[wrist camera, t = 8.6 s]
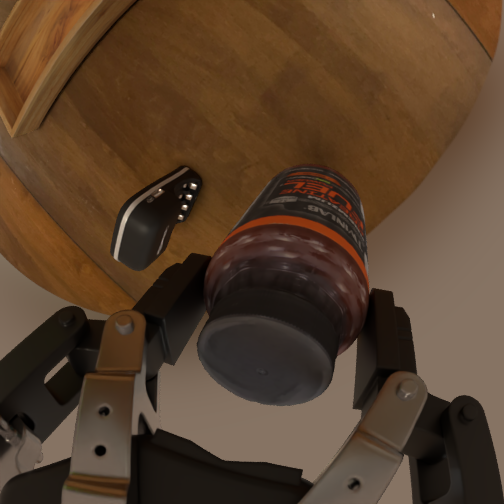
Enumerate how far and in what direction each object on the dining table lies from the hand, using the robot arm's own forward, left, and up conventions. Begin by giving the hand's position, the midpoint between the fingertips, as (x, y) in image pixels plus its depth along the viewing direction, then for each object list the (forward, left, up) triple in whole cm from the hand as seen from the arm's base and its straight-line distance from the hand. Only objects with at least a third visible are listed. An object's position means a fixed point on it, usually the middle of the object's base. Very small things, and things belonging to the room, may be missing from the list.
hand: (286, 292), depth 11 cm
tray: (+31, -18, -20) cm, 41 cm away
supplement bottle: (0, 0, -8) cm, 8 cm away
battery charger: (+14, +6, -20) cm, 25 cm away
